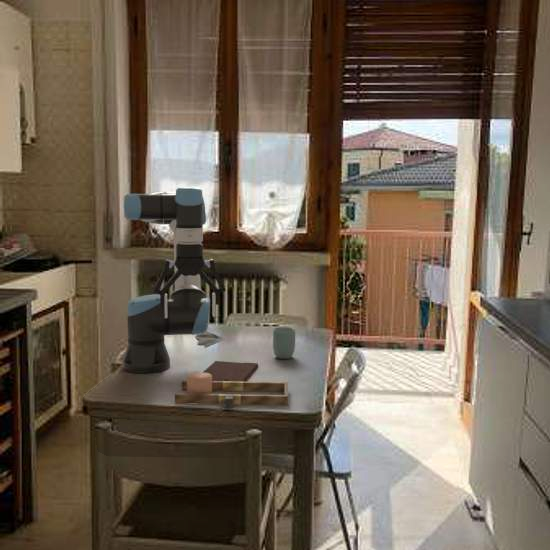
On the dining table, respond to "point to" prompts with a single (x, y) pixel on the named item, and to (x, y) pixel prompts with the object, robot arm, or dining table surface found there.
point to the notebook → (231, 371)
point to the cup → (283, 342)
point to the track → (237, 398)
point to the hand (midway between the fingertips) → (190, 316)
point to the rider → (199, 383)
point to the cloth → (208, 339)
